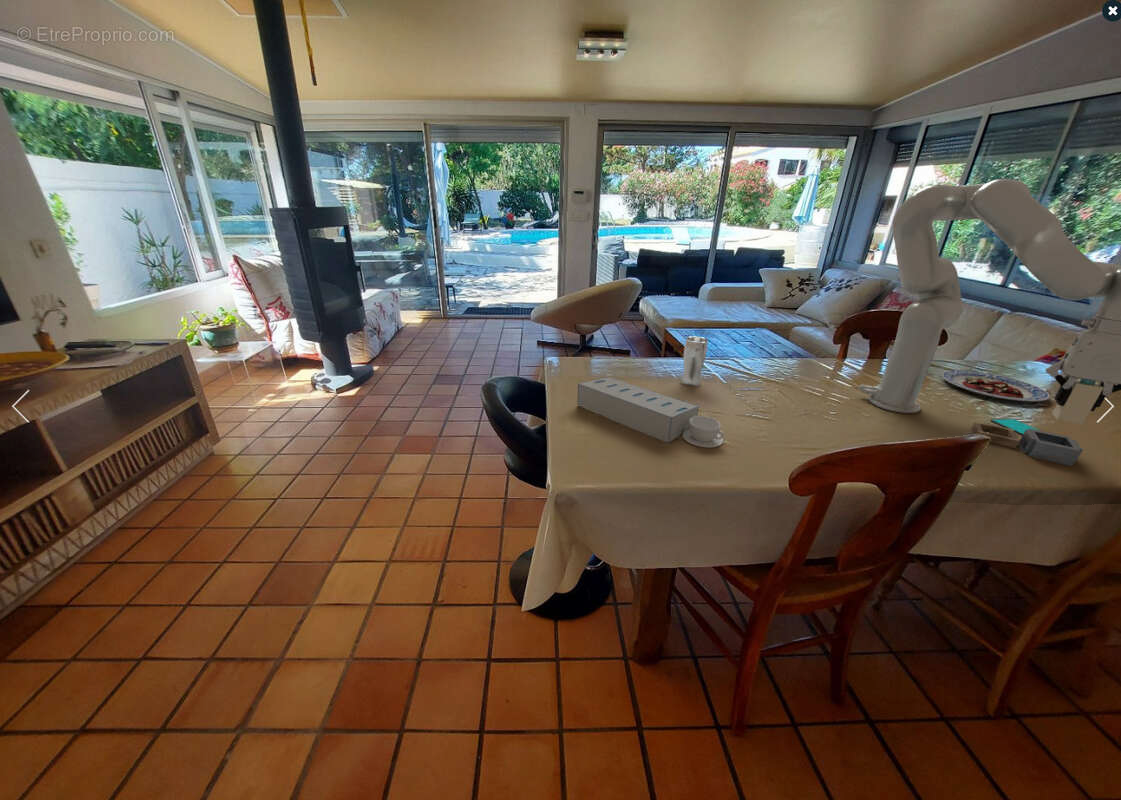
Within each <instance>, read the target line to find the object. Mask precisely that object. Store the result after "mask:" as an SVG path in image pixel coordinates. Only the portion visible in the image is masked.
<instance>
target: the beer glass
mask: <svg viewBox="0 0 1121 800" xmlns="http://www.w3.org/2000/svg"><path fill="white" fill-rule="evenodd" d="M685 340H686V341H685V344H684V348H683V349H684V350H683V375H682V376H681V377H682V378H681V380H680V382H681V384H683V385H685V386H687V387H688V386H689V387H698V386H700V385H701V373H702V369H703V366H704V363H705V360H706V357H707V351H708V342H709V340H708V339H707V338H705V337H702V336H688V337H687V338H686V339H685Z"/></svg>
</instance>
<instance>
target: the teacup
mask: <svg viewBox="0 0 1121 800" xmlns="http://www.w3.org/2000/svg"><path fill="white" fill-rule="evenodd" d="M721 426H722V425H721V422H720V421H719V420H717V419H715V418H713V417H710V416H706V415H704V416H703V415H697V416H695V417H692V418H691V419H690V426H689V427H690V428H689V429H687V430H685V431H684V432H683V433H682V434H681V436H682V438H683V439H684V440H685V441H686V442H687V443H689V444H691V445H693V446H697V447H701V448H717V447H720V446H722V445H723V443H724V436H725V433H724V431H723V430H720V429H721Z"/></svg>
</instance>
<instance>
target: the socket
mask: <svg viewBox="0 0 1121 800" xmlns="http://www.w3.org/2000/svg"><path fill="white" fill-rule="evenodd" d="M1018 445H1019V448H1020V449H1021V452H1022V453H1023V454H1026V453H1027V456H1028V457H1029V456H1030V457H1029V458H1034V459H1038V458H1039V459H1038V460H1043V461H1047V462H1052V463H1055V464H1059V465H1064V466H1069V467H1072V466H1073V465H1075V464H1076V462H1077V461H1078V459H1079V457H1080V455H1081V454H1082V453H1083V451H1084V449H1083V447H1082V446H1081V444H1079V442H1078V441H1077V440H1076V439H1072V438H1071V437H1070V436H1069V435H1068V436H1067V435H1064V434H1059V433H1053V432H1049V431H1044V430H1041V431H1040V429H1039V430H1035V429H1030V428H1028V430H1025V432H1024V434H1023V436H1022V435H1021V437H1020V439H1019V443H1018Z"/></svg>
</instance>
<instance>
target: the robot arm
mask: <svg viewBox="0 0 1121 800" xmlns="http://www.w3.org/2000/svg"><path fill="white" fill-rule="evenodd" d="M962 220H963V221H964V220H965V221H967V220H980V221H981V222H982V223H984V224H985V226H986V227H988V228H989V229H990V231H992V233H994V234H995V236H997V237H998V238H1000V239H1001V241H1003V243H1005V244H1006V245H1007V246H1008V247H1009V248H1010V249H1011V250H1012V252H1013V254H1014V255H1015V256H1016V257H1017V258H1018V259H1019V261H1020V262H1021V264H1022V265H1023V266H1025V268H1026V269H1027V270H1028V271H1029V272H1030V273H1031V274H1032V275H1033V277H1035V278H1036V280H1038V281H1039V282H1040V283H1041V284H1042V285H1043V286H1044V287H1045V288H1046V289H1048V290H1049V291H1050V292H1051V293H1052V294H1054V295H1055V296H1057V297H1058V298H1060V299H1063V300H1066V301H1067V300H1068V301H1081V300H1085V299H1090V298H1104V299H1103V300H1102V302H1101V304H1100V307H1099V308H1098V310H1097V312H1096V314H1095V315H1093V316H1092V318H1083V320H1081V326H1086V327H1087V328H1088V329H1083V330H1082V331H1081V332H1080V333H1079V334H1078V335H1077V337H1076V338H1075V339H1074V340H1073V342H1072V343H1071V344H1070V346H1069V348H1068V349H1067V350H1066V351H1065V353H1064V355H1063V357H1062V359H1061V360H1059V361H1058V362H1055V363H1054V364H1052V365H1050V366H1049V367H1047V368H1045V370H1044V371H1045V372H1046V373H1047V374H1048V375H1049V376H1050V377H1052V378H1053V379H1055V380H1056V382H1057V383H1058V384H1059V385H1060V387H1059V388H1058V390H1057V392H1056V395H1055V396H1054V400H1055V402H1056V404H1058V405H1060V406H1064V404H1065V403H1066V401H1067V399H1068V397H1069V395H1070V393H1071V391H1072V390H1071V386H1072V385H1073V384H1074V383H1075V382H1076V381H1077V380H1078V379H1079V380H1081V379H1087V380H1094V381H1096V382H1099V384H1100V385H1101V386H1102V387H1103V390H1102V391H1101V393H1100V395H1099V397H1098V398H1097V400H1096V402H1095V403H1094V405H1093V407H1092V409H1091V410H1090V412H1094V411H1095V410H1096V409H1097V408H1100V407H1101V406H1102V404H1103V402H1104V400H1105V399H1106V397H1107V396H1110V395H1111V394H1112V393H1117V392H1119V391H1121V264H1116V263H1109V262H1102V261H1092V260H1091V259H1090V258H1089V257H1088V256H1087V255H1085V254H1084V253H1083V252H1082V251H1081V250H1080V249H1078V248H1077V247H1076V246H1075V244H1073V242H1071V240H1070V239H1069V238H1068V237H1067V235H1066V234H1065V232H1064V228H1063V223H1062V222H1061V221H1060V219H1059V218H1058V217H1057V216H1056V215H1055V214H1054V213H1053V212H1052V211H1050V210H1049V209H1048V208H1046V206H1044V205H1043V204H1042V203H1041V202H1039V201H1038V200H1037V199H1036V198H1035V197H1034V196H1033V195H1032V194H1031V190H1030V187H1029V185H1027V184H1026V183H1025V182H1023V181H1020V180H1017V179H1011V178H998V179H994V180H991V181H988V182H987V183H978V184H965V185H949V184H930V185H928V186H924V187H922V188H920V189H918V190H916V191H915V192H913V194H911V195H910V196H909V197H907V198H906V199H905V200H904V201H903V203H902V204H901V205H900V207H899V208H898V210H897V212H896V214H895V216H894V218H893V223H892V224H893V225H892V233H893V234H892V236H893V240H894V244H895V245H894V246H895V253H896V263H897V269H898V275H899V282H900V286H901V288H902V290H903V291H905V292H906V293H908V294H911V295H916V299H917V300H916V301H914V302H912V303H911V304H909V305H908V306H906V308H905V309H904V310H903V312H902V314H901V316H900V318H899V322H898V328H897V332H896V337H895V340H894V343H893V346H892V347H891V348H892V349H891V352H890V354H889V358H888V360H887V363H886V367H885V370H883V375H882V377H881V380H880V383H878V384H876V385H872V386H871V385H867V384H862V383H861V384H860V386H859V388H858V391H862V392H863V393H864V394H868V395H869V396H868V401H869V402H870V403H871V404H872V405H875V406H876V407H878V408H880V409H885V410H887V411H891V412H896V413H901V414H903V413H904V414H914V413H918V412H920V410H921V408H922V405H920V403H919V402H917V399H918V397H919V395H920V393H921V390H922V388H923V385H924V383H925V380H926V378H927V375H928V373H929V370H930V367H931V365H932V362H933V360H934V357H935V354H936V352H937V350H938V346H939V342H940V339H941V334H942V331H943V330H945V329H947V328H949V327H951V326H954V325H955V324H956V323H958V321H959V320H960V318H961V317H962V315H963V300H962V294H961V286H960V278H959V273H958V270H957V267H956V266H955V264H954V263H953V262H952V261H951V260H949V259H948V258H945V257H942V256H940V254H939V248H938V242H937V241H938V240H937V237H936V234H935V232H934V227H933V225H934V224H933V223H934V222H937V221H938V222H939V221H940V222H942V221H944V222H945V221H962ZM1059 371H1061V373H1063V374H1064V375H1065V376H1063V374H1061V373H1059Z"/></svg>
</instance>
